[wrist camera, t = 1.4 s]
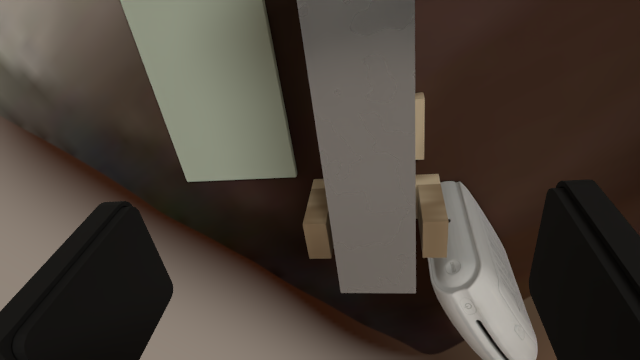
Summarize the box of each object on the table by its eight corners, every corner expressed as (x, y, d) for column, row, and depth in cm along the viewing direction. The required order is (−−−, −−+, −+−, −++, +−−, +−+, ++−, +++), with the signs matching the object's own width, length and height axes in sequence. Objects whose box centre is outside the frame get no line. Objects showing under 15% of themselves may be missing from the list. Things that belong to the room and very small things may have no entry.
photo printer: (412, 192, 35) (425, 311, 25) (459, 170, 33) (494, 288, 23) (465, 267, 39) (495, 396, 29) (510, 251, 37) (559, 382, 27)
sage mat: (226, -198, 22) (223, -200, 22) (297, 173, 35) (296, 177, 35) (65, -163, 24) (59, -165, 23) (189, 178, 37) (187, 181, 36)
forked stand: (427, -200, 21) (476, -311, 10) (424, 151, 32) (445, 275, 22) (292, -174, 22) (208, -248, 12) (334, 156, 34) (312, 275, 23)
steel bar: (404, -278, 13) (413, -340, 10) (411, 241, 25) (416, 293, 22) (282, -250, 14) (251, -299, 10) (346, 242, 26) (340, 292, 22)
